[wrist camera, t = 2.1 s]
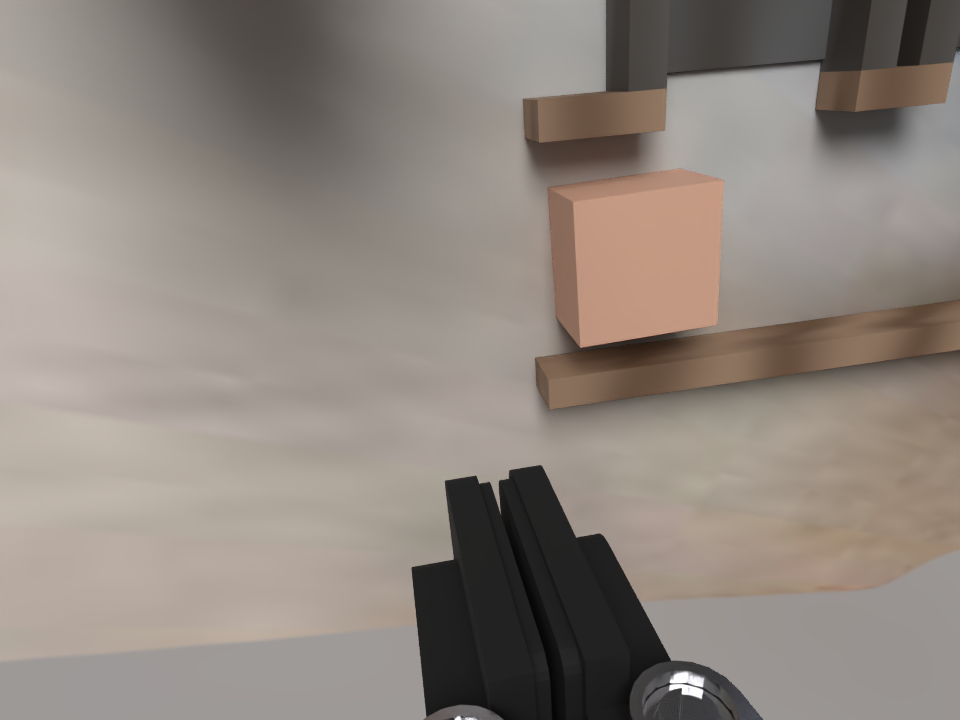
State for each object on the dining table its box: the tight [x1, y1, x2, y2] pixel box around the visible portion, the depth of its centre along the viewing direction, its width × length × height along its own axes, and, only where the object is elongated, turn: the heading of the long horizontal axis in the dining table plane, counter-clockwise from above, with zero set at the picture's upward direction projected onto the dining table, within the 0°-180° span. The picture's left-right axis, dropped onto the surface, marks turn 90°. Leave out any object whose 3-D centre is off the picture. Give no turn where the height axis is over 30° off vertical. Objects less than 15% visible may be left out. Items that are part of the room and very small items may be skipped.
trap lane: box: [523, 0, 960, 409], centre depth 27 cm, size 32×22×3 cm
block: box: [548, 169, 724, 348], centre depth 27 cm, size 6×6×4 cm
